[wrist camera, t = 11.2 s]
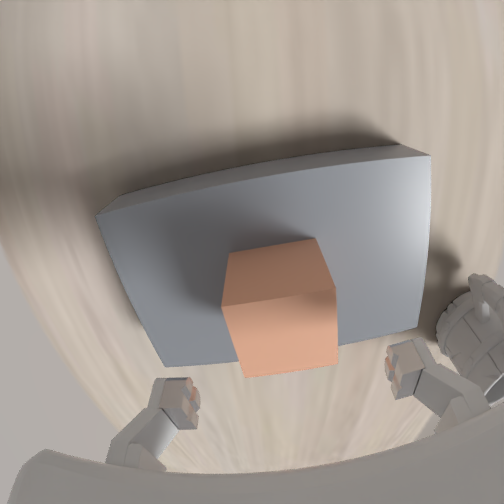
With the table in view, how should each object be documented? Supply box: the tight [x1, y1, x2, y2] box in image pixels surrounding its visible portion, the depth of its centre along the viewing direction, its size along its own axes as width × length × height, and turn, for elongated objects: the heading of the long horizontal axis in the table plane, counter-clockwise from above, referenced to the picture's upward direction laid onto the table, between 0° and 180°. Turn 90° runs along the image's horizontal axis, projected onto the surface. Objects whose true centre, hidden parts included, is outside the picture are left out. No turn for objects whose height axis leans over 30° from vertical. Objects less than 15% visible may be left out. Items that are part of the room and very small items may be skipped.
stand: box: [95, 144, 431, 367], centre depth 20 cm, size 13×20×4 cm, turn 101°
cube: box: [221, 238, 338, 378], centre depth 16 cm, size 5×5×5 cm
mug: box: [436, 274, 504, 406], centre depth 19 cm, size 8×12×12 cm, turn 22°
